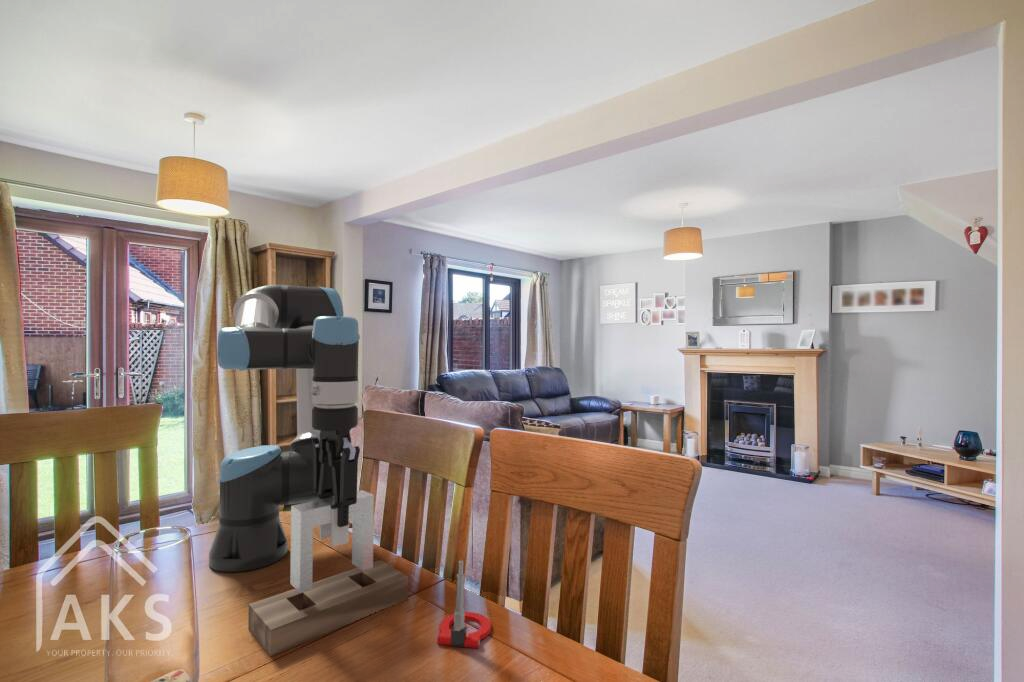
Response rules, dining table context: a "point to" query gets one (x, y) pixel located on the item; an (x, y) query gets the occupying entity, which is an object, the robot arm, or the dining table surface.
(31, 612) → the dining table surface
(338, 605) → the slotted wooden block
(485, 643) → the dining table surface
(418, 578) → the dining table surface
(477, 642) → the tow hook
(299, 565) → the clip
